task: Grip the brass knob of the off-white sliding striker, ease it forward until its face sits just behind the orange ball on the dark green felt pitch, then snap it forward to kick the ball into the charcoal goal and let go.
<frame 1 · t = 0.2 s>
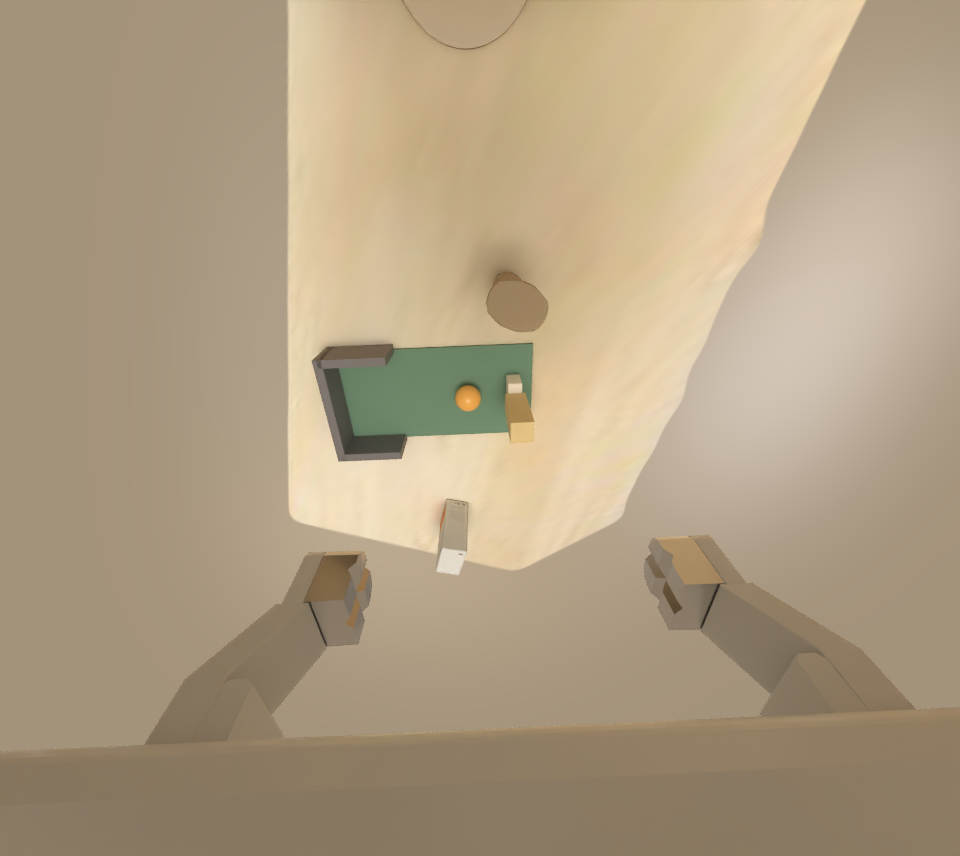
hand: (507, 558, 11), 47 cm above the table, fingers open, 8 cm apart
goal: (373, 395, 60), resting on pitch
ball: (468, 398, 58), point 2 cm above the table, touching pitch
pitch: (433, 393, 60), on the table
handle: (505, 283, 52), on the table
skincare box: (454, 511, 72), on the table
striker: (517, 410, 54), point 7 cm above the table, slide at 0.0 cm
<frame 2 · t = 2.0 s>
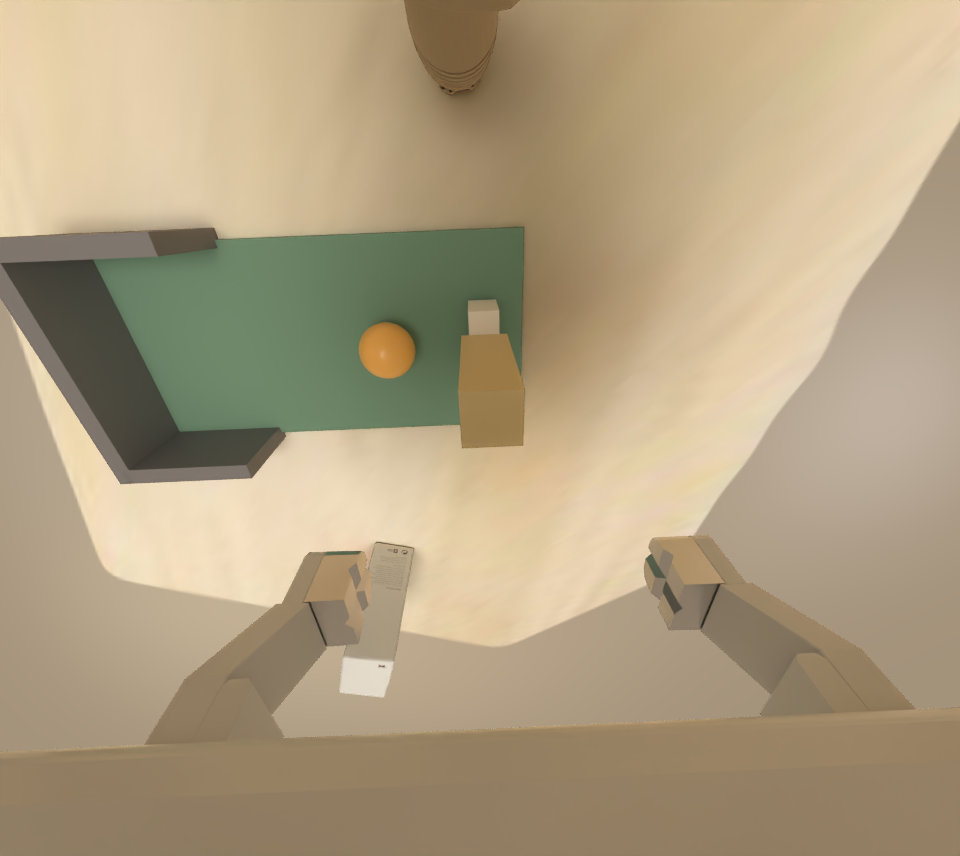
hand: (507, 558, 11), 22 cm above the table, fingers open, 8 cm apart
goal: (200, 349, 29), resting on pitch
ball: (387, 350, 27), point 2 cm above the table, touching pitch
pitch: (322, 344, 29), on the table
handle: (456, 62, 22), on the table
skincare box: (391, 561, 42), on the table
striker: (486, 371, 23), point 7 cm above the table, slide at 0.0 cm
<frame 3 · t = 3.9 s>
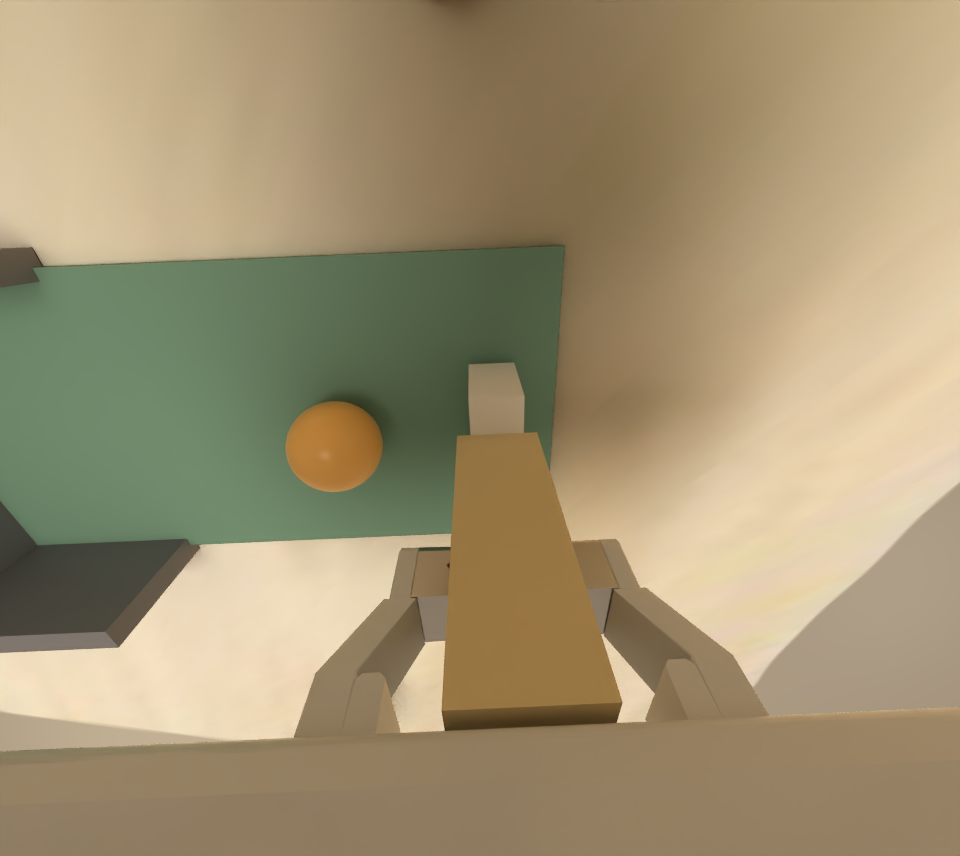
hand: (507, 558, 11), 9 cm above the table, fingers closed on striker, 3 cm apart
goal: (48, 433, 19), resting on pitch
ball: (336, 446, 17), point 2 cm above the table, touching pitch
pitch: (240, 425, 19), on the table
striker: (502, 513, 12), point 7 cm above the table, slide at 0.0 cm, touching gripper
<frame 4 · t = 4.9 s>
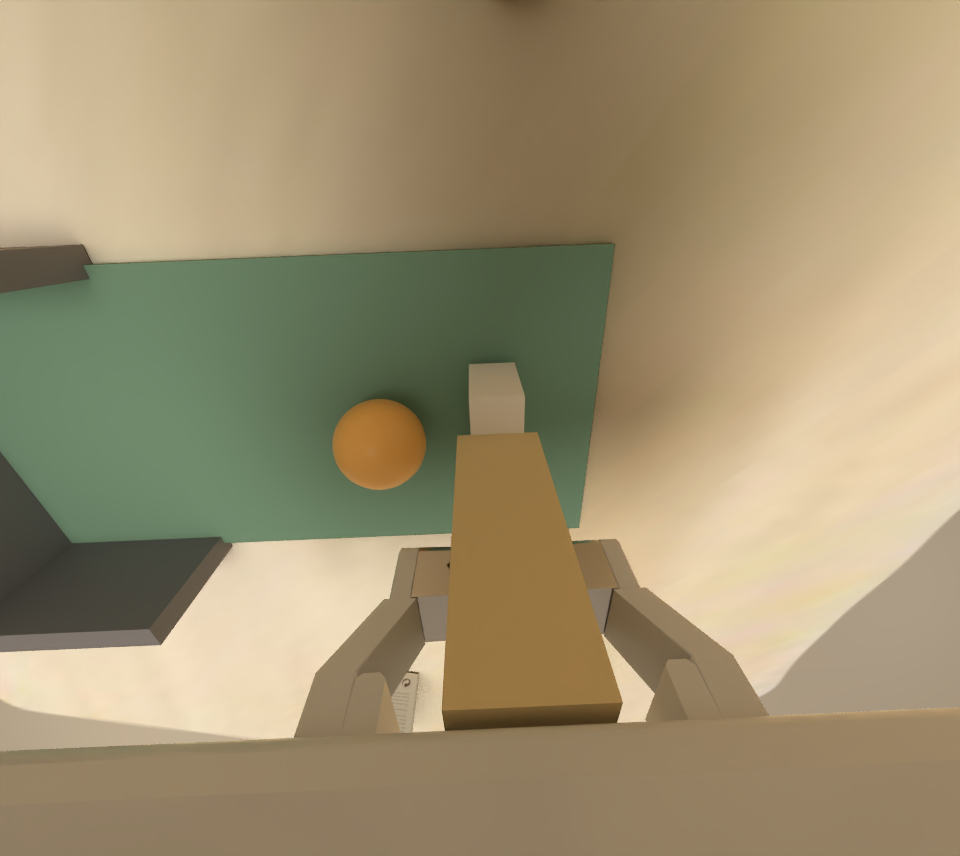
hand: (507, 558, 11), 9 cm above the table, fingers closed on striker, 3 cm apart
goal: (88, 431, 19), resting on pitch
ball: (380, 444, 17), point 2 cm above the table, touching pitch
pitch: (280, 423, 19), on the table
skincare box: (388, 686, 31), on the table
striker: (503, 513, 12), point 7 cm above the table, slide at 2.0 cm, touching gripper
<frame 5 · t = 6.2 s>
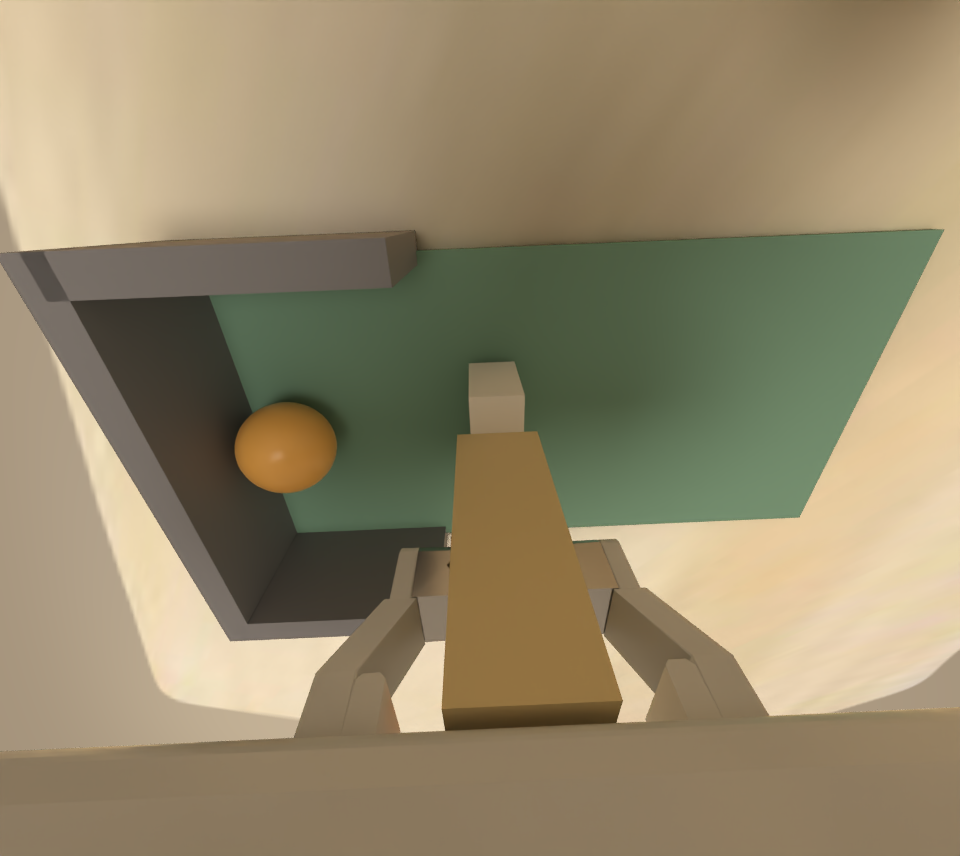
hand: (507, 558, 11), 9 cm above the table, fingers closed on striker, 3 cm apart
goal: (350, 419, 19), resting on pitch
ball: (288, 447, 17), point 2 cm above the table, tilted 125°, touching pitch
pitch: (540, 411, 19), on the table
striker: (503, 512, 12), point 7 cm above the table, slide at 15.0 cm, touching gripper
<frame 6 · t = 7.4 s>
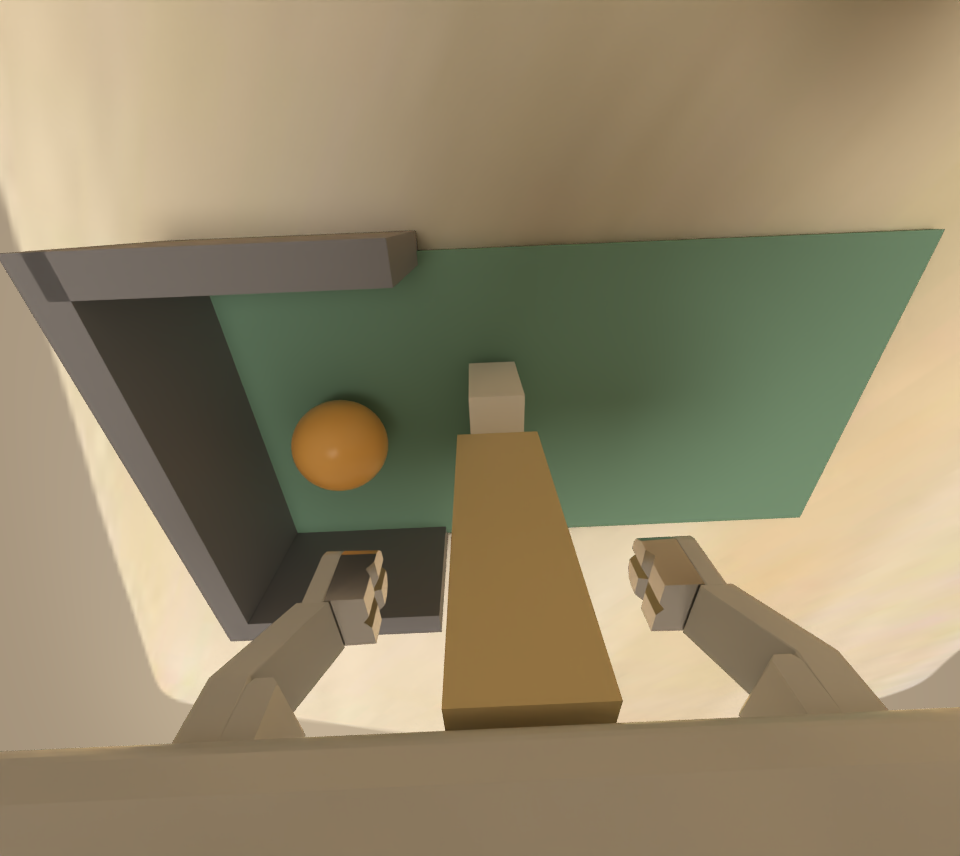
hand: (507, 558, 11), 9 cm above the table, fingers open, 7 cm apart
goal: (350, 419, 19), resting on pitch
ball: (341, 445, 17), point 2 cm above the table, tilted 58°, touching pitch
pitch: (541, 411, 19), on the table
striker: (503, 512, 12), point 7 cm above the table, slide at 15.0 cm
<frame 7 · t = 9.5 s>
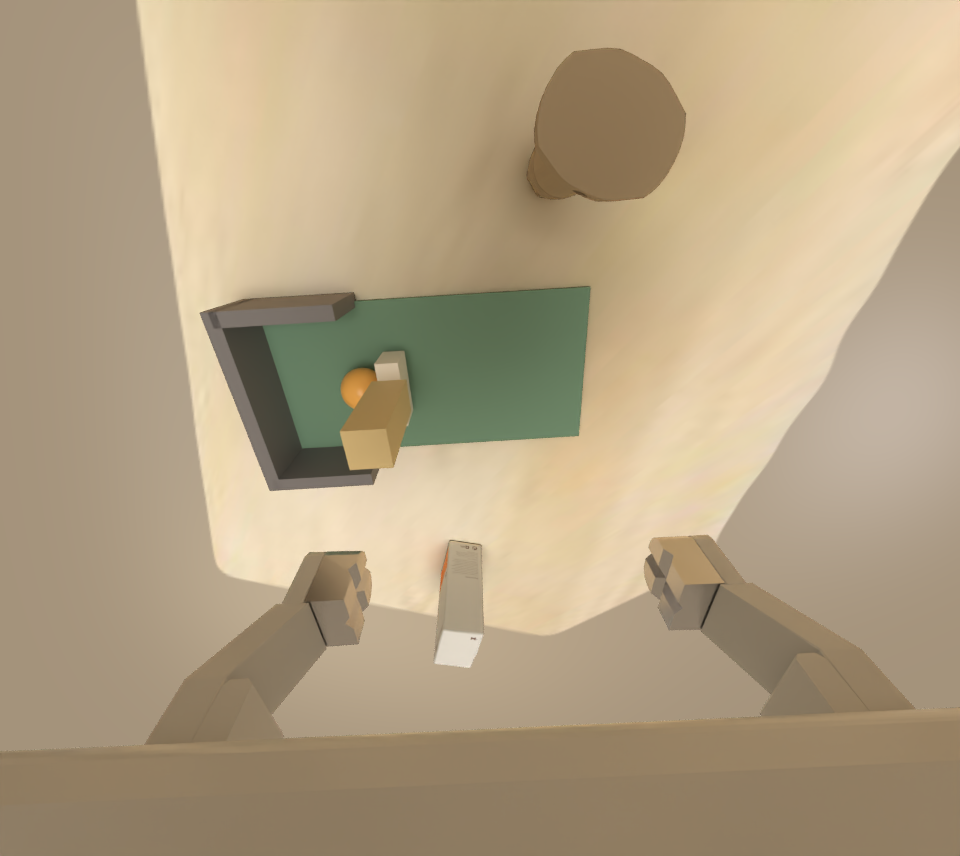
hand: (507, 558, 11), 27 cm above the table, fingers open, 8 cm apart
goal: (328, 382, 37), resting on pitch
ball: (363, 389, 35), point 2 cm above the table, tilted 50°, touching pitch
pitch: (425, 376, 37), on the table
handle: (546, 174, 30), on the table
skincare box: (460, 557, 49), on the table
striker: (385, 409, 31), point 7 cm above the table, slide at 15.0 cm
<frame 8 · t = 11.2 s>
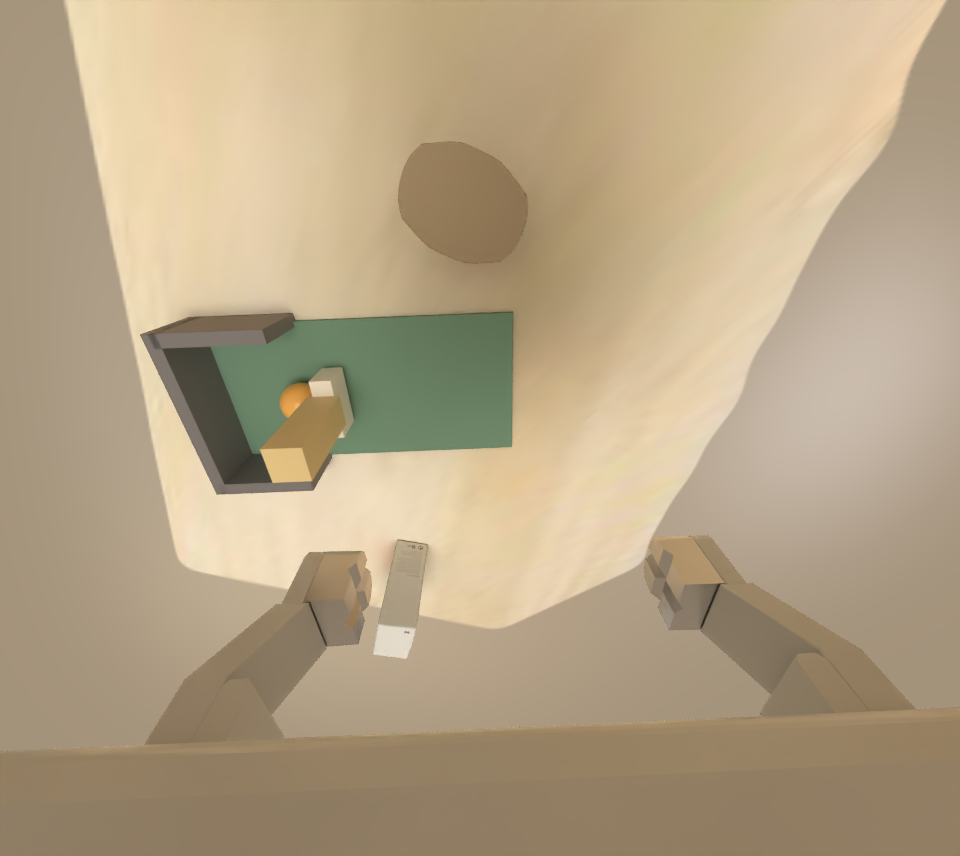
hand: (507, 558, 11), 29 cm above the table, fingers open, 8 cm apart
goal: (274, 394, 39), resting on pitch
ball: (302, 402, 37), point 2 cm above the table, tilted 45°, touching pitch
pitch: (364, 390, 40), on the table
handle: (466, 211, 32), on the table
skincare box: (409, 555, 52), on the table
striker: (316, 424, 33), point 7 cm above the table, slide at 15.0 cm
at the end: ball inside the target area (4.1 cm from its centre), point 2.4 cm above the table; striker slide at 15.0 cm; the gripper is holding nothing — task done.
